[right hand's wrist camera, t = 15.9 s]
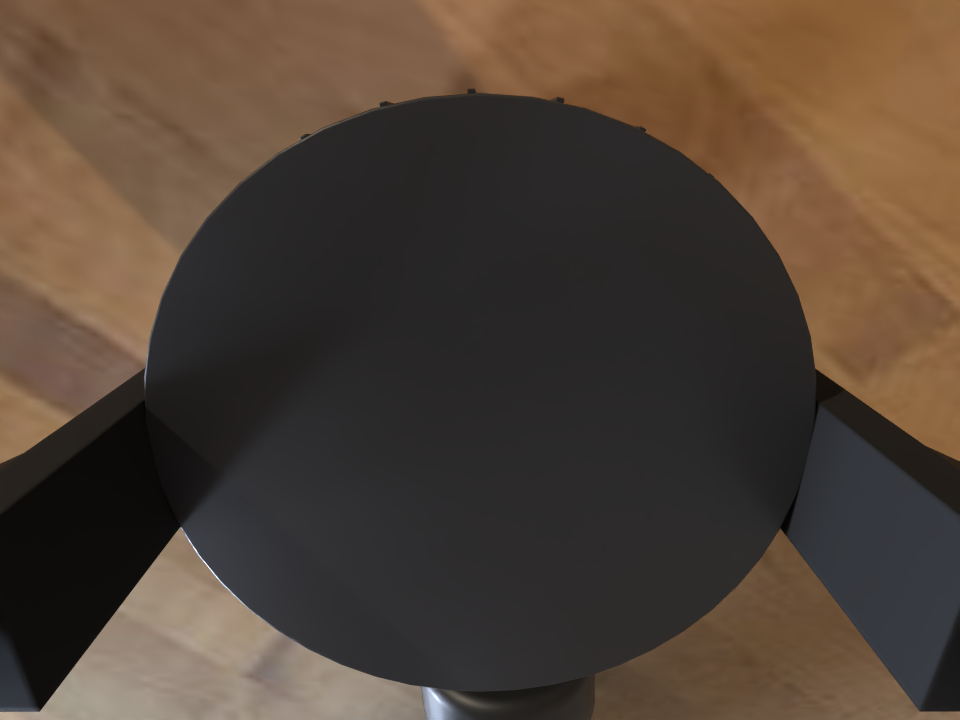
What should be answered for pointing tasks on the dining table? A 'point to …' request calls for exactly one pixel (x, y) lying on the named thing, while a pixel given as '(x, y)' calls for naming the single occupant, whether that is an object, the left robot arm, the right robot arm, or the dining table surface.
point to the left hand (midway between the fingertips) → (472, 180)
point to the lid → (480, 392)
